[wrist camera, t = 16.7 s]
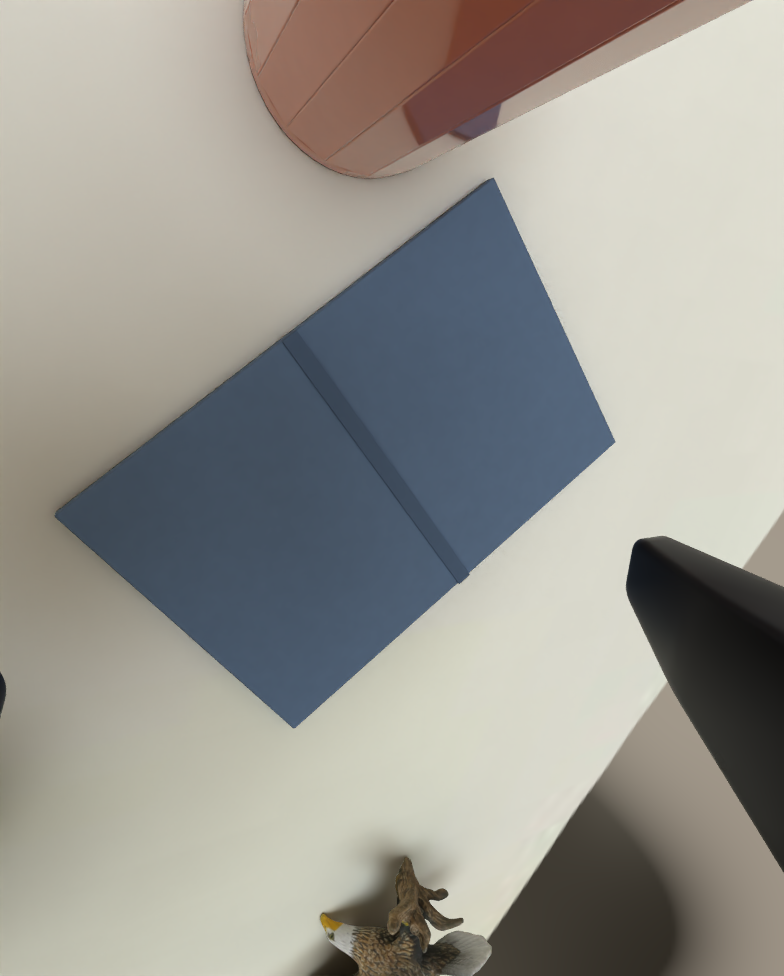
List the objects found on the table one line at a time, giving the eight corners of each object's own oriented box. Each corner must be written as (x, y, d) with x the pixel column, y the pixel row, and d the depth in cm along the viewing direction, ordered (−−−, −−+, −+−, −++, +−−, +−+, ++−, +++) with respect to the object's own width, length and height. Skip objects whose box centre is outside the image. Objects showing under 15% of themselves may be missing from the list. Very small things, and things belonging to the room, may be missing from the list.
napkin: (291, 723, 23) (294, 731, 23) (55, 512, 18) (53, 517, 17) (609, 440, 26) (617, 442, 25) (487, 179, 20) (495, 176, 20)
